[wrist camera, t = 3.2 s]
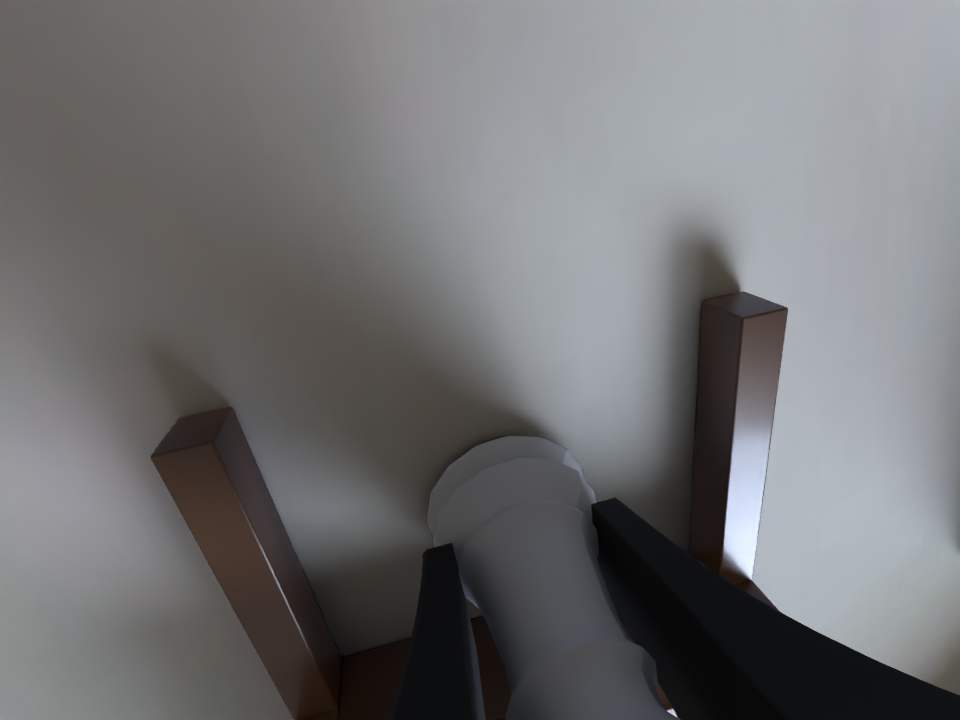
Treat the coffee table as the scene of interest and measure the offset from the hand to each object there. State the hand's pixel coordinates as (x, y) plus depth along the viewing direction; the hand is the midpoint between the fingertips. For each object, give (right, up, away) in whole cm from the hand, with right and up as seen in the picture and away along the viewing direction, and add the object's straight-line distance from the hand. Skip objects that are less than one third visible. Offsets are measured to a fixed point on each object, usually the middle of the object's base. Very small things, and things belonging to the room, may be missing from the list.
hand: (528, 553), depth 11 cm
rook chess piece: (-1, +1, +2) cm, 2 cm away
